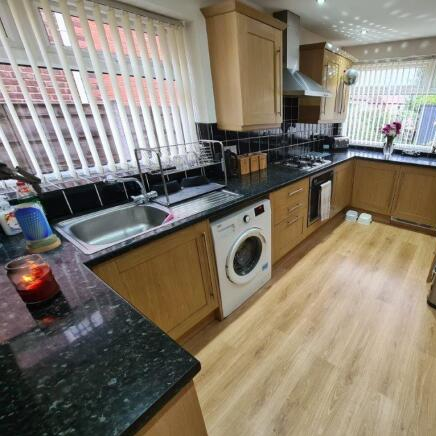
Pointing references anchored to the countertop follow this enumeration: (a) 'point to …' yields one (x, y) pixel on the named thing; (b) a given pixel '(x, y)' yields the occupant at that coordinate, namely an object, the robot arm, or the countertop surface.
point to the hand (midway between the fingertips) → (21, 201)
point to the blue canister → (32, 222)
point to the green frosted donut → (43, 245)
